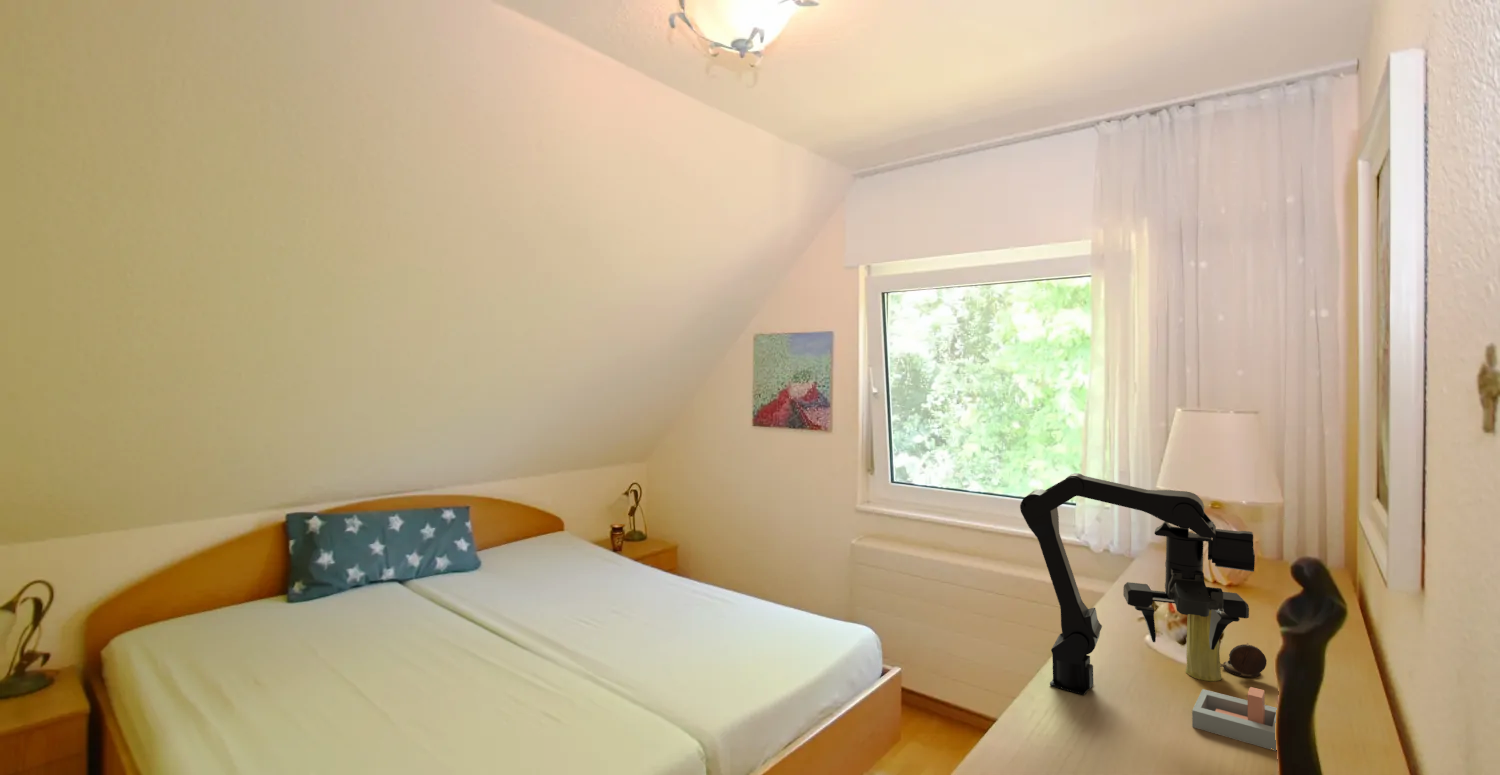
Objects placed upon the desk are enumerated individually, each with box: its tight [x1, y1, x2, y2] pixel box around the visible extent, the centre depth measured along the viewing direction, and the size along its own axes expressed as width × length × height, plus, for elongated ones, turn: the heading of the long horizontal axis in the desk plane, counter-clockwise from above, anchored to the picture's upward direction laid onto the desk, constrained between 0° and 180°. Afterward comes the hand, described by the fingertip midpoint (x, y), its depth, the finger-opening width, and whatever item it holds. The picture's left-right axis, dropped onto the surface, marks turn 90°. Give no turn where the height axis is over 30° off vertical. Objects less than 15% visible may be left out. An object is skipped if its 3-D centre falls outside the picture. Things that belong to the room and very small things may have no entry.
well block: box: [1191, 688, 1278, 752], centre depth 117 cm, size 12×10×3 cm
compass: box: [1220, 642, 1268, 678], centre depth 137 cm, size 8×8×7 cm
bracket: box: [1215, 686, 1266, 725], centre depth 117 cm, size 7×4×7 cm, turn 47°
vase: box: [1185, 609, 1223, 682], centre depth 136 cm, size 6×6×14 cm
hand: (1182, 645), depth 123 cm, fingers open, 9 cm apart
